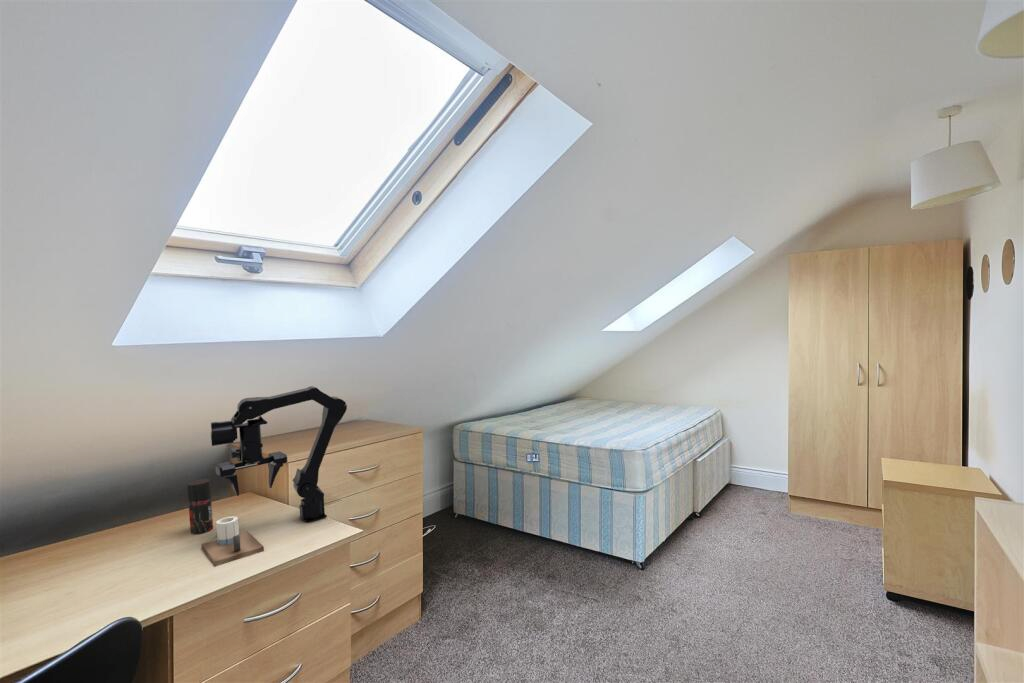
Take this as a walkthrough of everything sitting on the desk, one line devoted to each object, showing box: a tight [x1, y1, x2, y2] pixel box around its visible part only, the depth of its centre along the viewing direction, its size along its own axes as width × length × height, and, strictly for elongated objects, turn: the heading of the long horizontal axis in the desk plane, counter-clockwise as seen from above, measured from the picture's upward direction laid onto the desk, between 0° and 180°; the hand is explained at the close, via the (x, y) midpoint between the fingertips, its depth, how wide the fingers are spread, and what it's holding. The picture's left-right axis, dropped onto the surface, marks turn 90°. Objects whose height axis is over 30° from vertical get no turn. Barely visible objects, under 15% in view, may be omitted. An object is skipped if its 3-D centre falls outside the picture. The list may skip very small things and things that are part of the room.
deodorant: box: [186, 478, 214, 535], centre depth 159 cm, size 6×6×15 cm
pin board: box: [201, 530, 265, 567], centre depth 145 cm, size 12×15×5 cm
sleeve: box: [215, 516, 240, 545], centre depth 148 cm, size 5×5×6 cm
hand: (254, 491), depth 157 cm, fingers open, 9 cm apart
